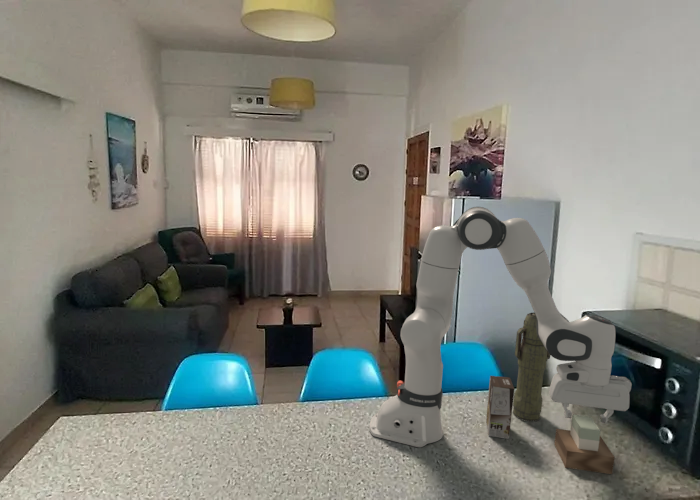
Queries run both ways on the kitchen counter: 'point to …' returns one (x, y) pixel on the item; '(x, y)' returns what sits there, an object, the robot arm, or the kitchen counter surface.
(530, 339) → the thermos
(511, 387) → the coffee box
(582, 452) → the walnut stand
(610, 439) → the kitchen counter surface
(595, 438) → the block
